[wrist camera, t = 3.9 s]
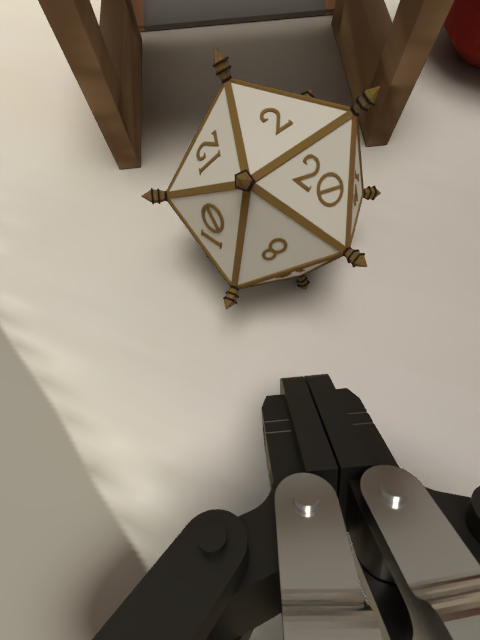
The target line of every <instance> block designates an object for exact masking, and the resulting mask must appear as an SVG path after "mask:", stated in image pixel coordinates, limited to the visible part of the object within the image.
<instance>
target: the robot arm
mask: <svg viewBox="0 0 480 640" xmlns="http://www.w3.org/2000/svg"><path fill="white" fill-rule="evenodd" d="M280 393H281V395H272V396H266V399H265V401H264V403H263V406H262V420H263V434H264V446H265V453H266V459H267V466H268V473H269V480H270V487H271V492H270V494H269V496H268V497H267V499H266V500H265V501H264V502H263V503H262V504H261V505H260V506H258V507H257V508H256V509H254V510H252V511H250V512H248V513H245V514H243V515H241V516H239V517H237V516H235V515H234V514H233V513H231V512H229V511H225V510H219V509H216V510H209V511H206V512H203V513H201V514H199V515H197V516H196V517H195V518H193V519H192V520H191V521H190V522H189V523H188V524H187V526H186V527H185V528H184V529H183V531H182V532H181V533H180V534H179V535H178V537H177V538H176V539H175V540H174V541H173V543H172V544H171V545H170V546H169V547H168V549H167V550H166V551H165V552H164V553H163V555H162V556H161V557H160V558H159V559H158V561H157V562H156V563H155V564H154V565H153V567H152V568H151V569H150V570H149V572H148V573H147V574H146V575H145V576H144V578H143V579H142V580H141V581H140V583H139V584H138V585H137V586H136V587H135V588H134V590H133V591H132V592H131V593H130V594H129V596H128V597H127V598H126V599H125V601H124V602H123V603H122V604H121V606H120V607H119V608H118V609H117V610H116V611H115V613H114V614H113V615H112V616H111V617H110V619H109V620H108V621H107V622H106V623H105V625H104V626H103V627H102V628H101V630H100V631H99V632H98V633H97V634H96V635H95V637H94V638H93V639H92V640H249V638H250V636H251V634H252V631H253V629H254V628H256V627H257V626H259V625H261V624H263V623H264V622H266V621H268V620H269V619H271V618H273V617H275V616H276V615H278V614H280V613H282V625H283V640H480V486H479V487H478V488H476V489H475V490H474V492H473V494H472V497H471V498H470V497H465V496H460V495H454V494H449V493H444V492H439V491H435V490H431V489H429V488H426V487H424V486H423V485H422V483H421V482H420V481H419V480H418V479H417V478H416V477H415V476H413V475H412V474H411V473H409V472H407V471H406V470H403V469H401V468H400V467H399V466H398V464H397V463H396V461H395V459H394V457H393V456H392V454H391V452H390V450H389V449H388V447H387V445H386V443H385V442H384V440H383V438H382V436H381V435H380V433H379V431H378V430H377V428H376V426H375V424H373V421H372V419H371V417H370V416H369V414H368V413H367V410H366V409H365V407H364V405H363V403H362V402H361V400H360V398H359V397H357V396H356V395H355V394H354V393H352V392H351V391H350V390H348V389H347V388H343V389H335V387H334V385H333V383H332V381H331V379H330V377H329V375H328V374H321V375H310V376H304V377H303V376H301V377H290V378H281V379H280ZM347 532H349V534H350V537H351V540H352V543H353V546H354V549H353V555H352V551H351V547H350V544H349V540H348V536H347ZM357 574H358V575H357ZM358 577H359V579H358ZM359 580H360V582H361V585H362V587H363V590H364V592H365V595H366V597H367V600H368V602H369V605H370V606H369V605H367V604H366V602H365V600H364V597H363V594H362V590H361V587H360V583H359ZM382 638H383V639H382Z"/></svg>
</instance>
